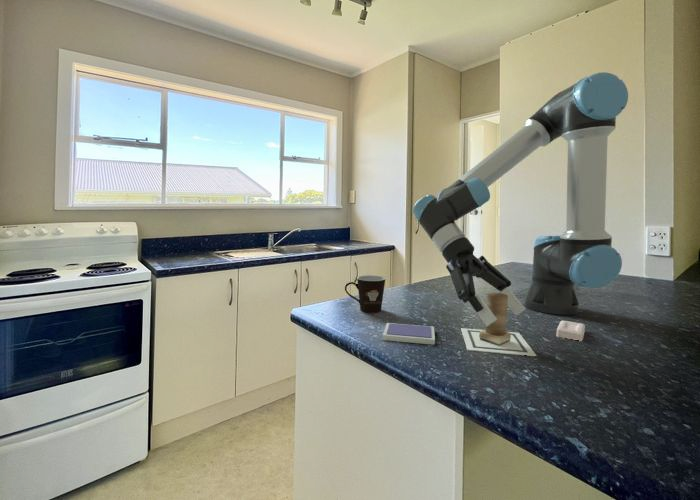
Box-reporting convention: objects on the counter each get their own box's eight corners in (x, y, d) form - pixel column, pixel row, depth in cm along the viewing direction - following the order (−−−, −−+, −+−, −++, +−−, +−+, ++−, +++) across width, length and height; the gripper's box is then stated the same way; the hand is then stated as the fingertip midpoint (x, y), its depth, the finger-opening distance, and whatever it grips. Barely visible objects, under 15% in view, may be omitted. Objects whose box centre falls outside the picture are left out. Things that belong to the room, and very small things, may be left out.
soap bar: (584, 332, 88) (585, 323, 88) (582, 343, 81) (582, 333, 81) (560, 328, 91) (561, 319, 91) (555, 338, 84) (556, 328, 84)
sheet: (518, 333, 86) (519, 332, 86) (536, 356, 72) (536, 355, 72) (460, 328, 89) (461, 327, 89) (467, 350, 75) (467, 348, 75)
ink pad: (433, 331, 87) (433, 325, 87) (434, 344, 78) (434, 338, 78) (386, 327, 90) (386, 322, 89) (382, 339, 81) (382, 334, 81)
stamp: (479, 339, 81) (481, 294, 80) (490, 334, 84) (493, 291, 83) (499, 346, 77) (502, 298, 76) (510, 341, 80) (513, 295, 79)
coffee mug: (387, 307, 107) (388, 276, 106) (380, 315, 99) (381, 281, 98) (352, 304, 111) (353, 273, 110) (343, 311, 103) (343, 278, 102)
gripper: (471, 251, 98) (520, 316, 88) (413, 257, 83) (465, 336, 73) (489, 234, 93) (543, 300, 83) (431, 237, 78) (489, 319, 68)
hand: (507, 317), depth 78 cm, fingers open, 12 cm apart
